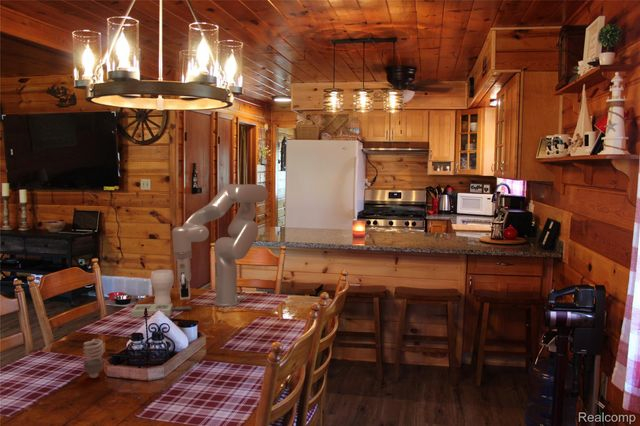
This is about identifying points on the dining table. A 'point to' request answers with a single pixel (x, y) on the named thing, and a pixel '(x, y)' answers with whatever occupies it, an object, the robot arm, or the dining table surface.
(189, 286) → the block
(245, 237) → the robot arm
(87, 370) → the light bulb
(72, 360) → the dining table surface
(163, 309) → the outlet board
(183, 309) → the phone
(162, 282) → the cup
